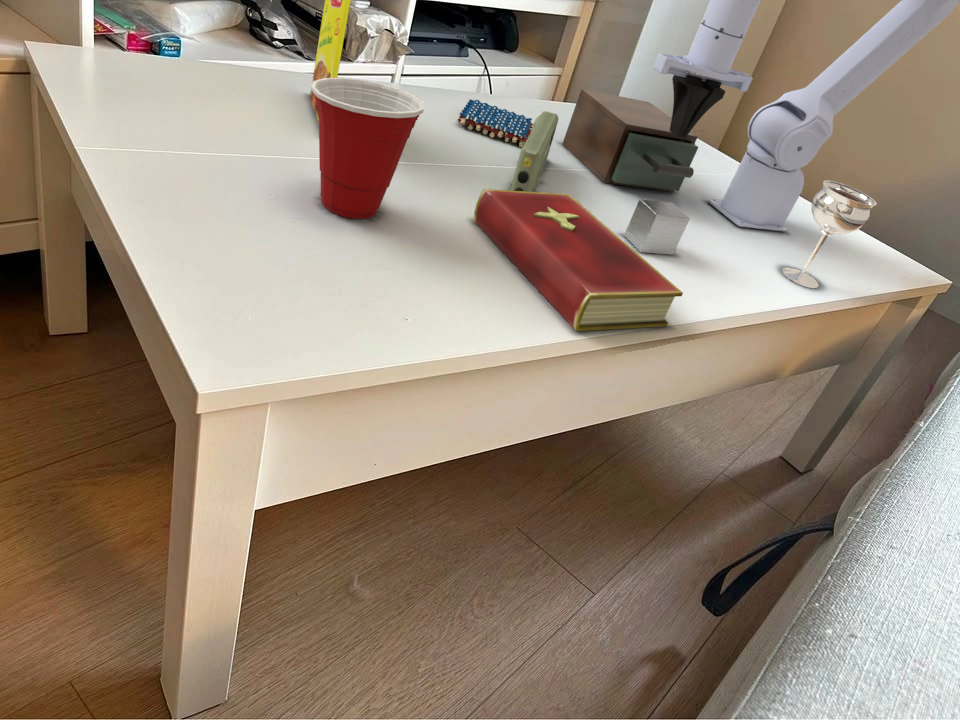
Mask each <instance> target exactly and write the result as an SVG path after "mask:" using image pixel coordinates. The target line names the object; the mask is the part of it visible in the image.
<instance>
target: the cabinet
mask: <svg viewBox="0 0 960 720" xmlns="http://www.w3.org/2000/svg"><path fill="white" fill-rule="evenodd" d="M671 120H672V116H669V115H668V114H667V113H665V112H664V111H663V110H661V109H660V108H658V107H657V106H656V105H654V104H652V102H650V101H645V100H642V99H641V100H640V99H637V98H630V97H625V96H619V95H615V94H610V93H604V92H599V91H595V90H589V89H585V88H581V89H580V92H579V95H578V98H577V100H576V103H575V106H574V109H573V112H572V114H571V118H570V121H569V123H568V126H567V129H566V132H565V134H564V137H563V140H562V143H561V144H562V145H563V146H564V147H565V148H566V149H567V151H569V152H570V153H571V154H572V155H573V156H574V157H575V158H576V159H578V160H579V162H580V163H582V164H583V165H584V166H585V167H586V168H587V169H588V170H589V171H590V172H591V173H592V174H593V175H595V177H597V178H598V179H599V180H600V181H601V183H603V184H609V185H618V186H624V187H625V186H626V187H632V188H640V189H641V188H642V189H649V190H656V191H664V192H672V193H673V192H674V191H675V190H667V189H660V188H652V187H645V186H637V185H630V184H622V183H615V182H614V181H613V180H612V179H611V178H612V176H613V174H612V172H613V169H614V167H615V164H616V162H617V159H618V157H619V154H620V152H621V149H622V147H623V144H624V142H625V139H626V136H627V134H628V130H629V131H635V132H641V133H647V134H652V135H658V136H664V137H670V138H676V139H682V140H684V142H687V143H692V144H695V145H696V142H697V141H698V140H697V139H698V135H696V134H695V133H693V132H692V131H690V132H689V134H688V135H687V136H686V137H682V136H681V137H680V136H676V135H675V134H674V133H672V132H671V131H670V125H671Z"/></svg>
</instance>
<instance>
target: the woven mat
mask: <svg viewBox="0 0 960 720" xmlns="http://www.w3.org/2000/svg"><path fill="white" fill-rule="evenodd" d="M532 120H533V118H532V117H527V116H526V115H524V114H520V113H516V112H515V111H510V110H507V109H505V108H502V109H501V107H498V106H497V105H493V104H489V103H487V102H483V101H482V100H480V99H474V100H473V99H471V98H469V99H468V101H467V104H466V103H465V106H463V109H462V110H461V112H459V117H458V119H457V121H458V123H459V124H460V125H462V126H466V125H468V127H467V129H468V131H472V130H473V129H474V127H475V131H477V132H479V131H480V132H481V129H482V134H483V135H487V134H488V132H490V134H489V137H490V138H492V139H493V138H495V135H496V136H497V137H498V138H500V139H502V138H504V142H505V143H508V142H509V141H510V139H512V141H511V142H512V143H513V144H516V143H517V142H518V141H519V143H518V146H519V148H523V146H524V144H525V142H526V140H527V139H528V137H529V135H530V133H531V130H532V126H533V124H534V122H532Z"/></svg>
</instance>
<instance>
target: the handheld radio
mask: <svg viewBox="0 0 960 720" xmlns="http://www.w3.org/2000/svg"><path fill="white" fill-rule="evenodd" d="M558 123H559V115H558V114H557V113H554V112H551V111H550V112H549V111H546V110H545V111H542V112H541V113H540V115H538V116H537V117H536V118H535V120H534V122H533V125H532V128H531V132H530V134H528V135H529V137H527V138H528V139H527V140H526V142H525V143H524V145H523V147H521V150H520V154H519V157H518V159H517V164H516V168H515V172H514V175H513V179H512V182H511V185H510V186H511V187H510V189H509V191H525V192H535V189H537V188H538V185H539V183H540V180H541V178H542V176H543V172H544V169H545V166H546V162H547V160H548V156H549V153H550V150H551V147H552V143H553V140H554V137H555V133H556V129H557V127H558Z"/></svg>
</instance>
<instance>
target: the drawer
mask: <svg viewBox="0 0 960 720" xmlns="http://www.w3.org/2000/svg"><path fill="white" fill-rule="evenodd" d="M698 149H699V146H698V145H696V143H695V144H692V143H687V142H684V140H682V139H676V138H670V137H664V136H658V135H652V134H647V133H641V132H635V131H629V130H628V134H627V136H626V139H625V142H624V144H623V147H622V149H621V152H620V154H619V157H618V159H617V162H616V164H615V167H614V169H613V172H612V174H613V176H612V178H611V179H612V180H613V181H614V182H615V183H622V184H630V185H637V186H645V187H652V188H660V189H667V190H674V191H677V192H679V191H680V189H681V187H682V185H683V183H684V181H685V178H689V179H690V178H692V177H693V176H694V172H695V171H694V168H693V167H691V166H692V163H693V161H694V158H695V156H696V154H697V151H698Z"/></svg>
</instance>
